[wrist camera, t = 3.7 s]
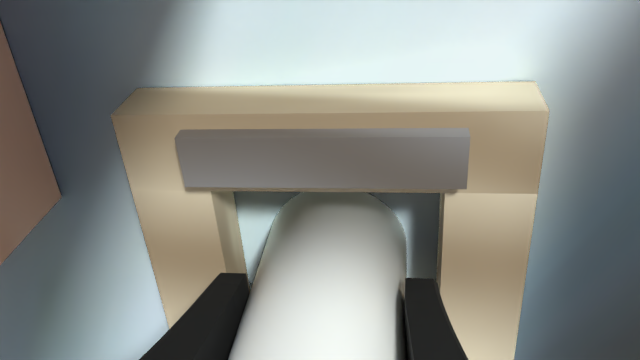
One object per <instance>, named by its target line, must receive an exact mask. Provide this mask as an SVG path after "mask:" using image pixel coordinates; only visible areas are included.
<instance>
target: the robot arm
mask: <svg viewBox="0 0 640 360" xmlns="http://www.w3.org/2000/svg"><path fill="white" fill-rule="evenodd" d="M249 294H250V293H249V287H248V281H247V275H246V273H220V274H219V275H218V276H217V277H216V278H215V279H214V280H213V281H212V282H211V284H210V285H209V286H208V287H207V288H206V289H205V291H204V292H203V293H202V294H201V295H200V296H199V297H198V299H197V300H196V301H195V302H194V303H193V304H192V305H191V306H190V308H189V309H188V310H187V311H186V312H185V313H184V314H183V315H182V316H181V318H180V319H179V320H178V321H177V322H176V323H175V324H174V325H173V326H172V327H171V328H170V329H169V330H168V331H167V332H166V334H165V335H164V336H163V337H162V338H161V339H160V340H159V341H158V342H157V343H156V344H155V345H154V346H153V347H152V348H151V349H150V350H149V351H148V352H147V353H145V354H144V355H143V356H142V357H141V358H140V359H139V360H228V358H229V355H230V352H231V349H232V346H233V343H234V340H235V337H236V333H237V330H238V327H239V324H240V321H241V318H242V315H243V312H244V309H245V306H246V303H247V300H248V297H249ZM405 343H406V360H468V358H467V356H466V354H465V352H464V350H463V348H462V346H461V344H460V342H459V340H458V338H457V336H456V333H455V331H454V329H453V327H452V324H451V322H450V320H449V317H448V315H447V312H446V310H445V307H444V304H443V301H442V298H441V295H440V291H439V287H438V283H437V282H436V281H435V280H434V279H420V278H405Z"/></svg>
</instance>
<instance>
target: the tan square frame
mask: <svg viewBox="0 0 640 360" xmlns="http://www.w3.org/2000/svg"><path fill="white" fill-rule="evenodd" d="M110 116H111V119H112V123H113V126H114V130H115V134H116V137H117V141H118V144H119V148H120V152H121V155H122V159H123V163H124V166H125V170H126V173H127V177H128V181H129V184H130V188H131V191H132V195H133V199H134V202H135V206H136V210H137V213H138V217H139V220H140V224H141V228H142V231H143V235H144V239H145V242H146V246H147V249H148V253H149V257H150V260H151V264H152V267H153V271H154V275H155V278H156V282H157V286H158V289H159V293H160V296H161V300H162V304H163V307H164V311H165V314H166V318H167V322H168V325H169V329H170V328H171V327H172V326H173V325H174V324H175V323H176V322H177V321H178V320H179V319H180V318H181V316H182V315H183V314H184V313H185V312H186V311H187V310H188V309H189V308H190V306H191V305H192V304H193V303H194V302H195V301H196V300H197V299H198V297H199V296H200V295H201V294H202V293H203V292H204V291H205V289H206V288H207V287H208V286H209V285H210V284H211V282H212V281H213V280H214V279H215V278H216V277H217V276H218V275H219V274H220V273H246V275H247V269H246V263H245V258H244V252H243V246H242V240H241V234H240V228H239V223H238V217H237V211H236V205H235V199H234V193H233V191H273V192H384V193H440V207H439V231H438V254H437V278H436V282H437V283H438V287H439V291H440V295H441V298H442V301H443V304H444V307H445V310H446V312H447V315H448V317H449V320H450V322H451V324H452V327H453V329H454V331H455V333H456V336H457V338H458V340H459V342H460V344H461V346H462V348H463V350H464V352H465V354H466V356H467V358H468V360H514V355H515V348H516V341H517V334H518V327H519V320H520V313H521V306H522V299H523V292H524V285H525V278H526V271H527V265H528V258H529V251H530V244H531V237H532V230H533V223H534V216H535V209H536V202H537V195H538V188H539V181H540V174H541V167H542V160H543V153H544V146H545V139H546V132H547V125H548V118H549V109H548V107H547V104H546V102H545V100H544V98H543V96H542V94H541V92H540V90H539V88H538V86H537V84H536V82H535V81H521V82H461V83H402V84H343V85H283V86H224V87H165V88H137V89H136V90H135V91H134V92H133V93H132V94H131V95H130V96H129V97H128V98H127V99H126V100H125V101H124V102H123V103H122V104H121V105H120V106H119V107H118V108H117V109H116V110H115V111H114V112H113V113H112V114H111V115H110ZM247 281H248V275H247ZM248 287H249V281H248ZM249 293H250V287H249Z"/></svg>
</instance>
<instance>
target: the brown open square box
mask: <svg viewBox="0 0 640 360" xmlns="http://www.w3.org/2000/svg"><path fill="white" fill-rule="evenodd" d="M61 197H62V196H61V193H60V191H59V188H58V185H57V182H56V179H55V176H54V173H53V171H52V168H51V165H50V162H49V159H48V156H47V154H46V151H45V148H44V145H43V142H42V139H41V136H40V134H39V131H38V128H37V125H36V122H35V119H34V116H33V114H32V111H31V108H30V105H29V102H28V99H27V96H26V94H25V91H24V88H23V85H22V82H21V79H20V76H19V74H18V71H17V68H16V65H15V62H14V59H13V57H12V54H11V51H10V48H9V45H8V42H7V39H6V37H5V34H4V31H3V28H2V25H1V22H0V265H1V264H2V263H3V262H4V261H5V259H6V258H7V257H8V256H9V255H10V254H11V253H12V252H13V251H14V249H15V248H16V247H17V246H18V245H19V244H20V243H21V242H22V241H23V240H24V238H25V237H26V236H27V235H28V234H29V233H30V232H31V231H32V230H33V228H34V227H35V226H36V225H37V224H38V223H39V222H40V221H41V220H42V218H43V217H44V216H45V215H46V214H47V213H48V212H49V211H50V210H51V208H52V207H53V206H54V205H55V204H56V203H57V202H58V201H59V200H60V198H61Z"/></svg>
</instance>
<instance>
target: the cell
mask: <svg viewBox="0 0 640 360" xmlns="http://www.w3.org/2000/svg"><path fill="white" fill-rule="evenodd" d="M405 278H407V244H406V236H405V232H404V229H403V227H402V224H401V222H400V221H399V219H398V217H397V216H396V215H395V214H394V212H393V211H392V210H391V209H390V208H389V207H388V206H387V205H386V204H384V203H383V202H382V201H380V200H379V199H377V198H375V197H374V196H372V195H370V194H368V193H365V192H303V193H300V194H298V195H297V196H295V197H293V198H292V199H290V200H289V201H288V202H287V203H286V204H285V205H284V206H283V207H282V208H281V209H280V210H279V212H278V213H277V215H276V217H275V219H274V221H273V224H272V227H271V230H270V233H269V236H268V239H267V242H266V245H265V248H264V252H263V255H262V258H261V261H260V264H259V267H258V270H257V273H256V276H255V279H254V282H253V285H252V288H251V291H250V294H249V297H248V300H247V303H246V306H245V309H244V312H243V315H242V318H241V321H240V324H239V327H238V330H237V333H236V337H235V340H234V343H233V346H232V349H231V352H230V355H229V358H228V360H406V343H405Z"/></svg>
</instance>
